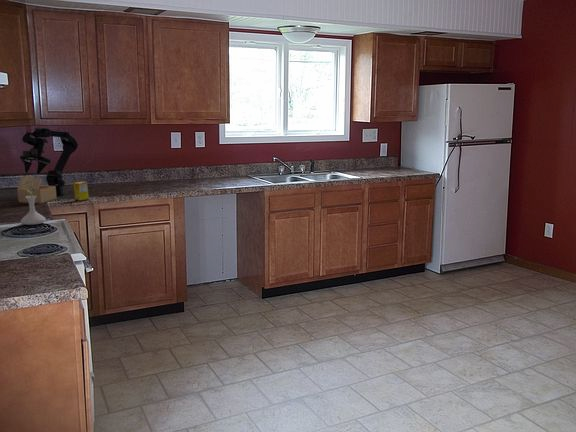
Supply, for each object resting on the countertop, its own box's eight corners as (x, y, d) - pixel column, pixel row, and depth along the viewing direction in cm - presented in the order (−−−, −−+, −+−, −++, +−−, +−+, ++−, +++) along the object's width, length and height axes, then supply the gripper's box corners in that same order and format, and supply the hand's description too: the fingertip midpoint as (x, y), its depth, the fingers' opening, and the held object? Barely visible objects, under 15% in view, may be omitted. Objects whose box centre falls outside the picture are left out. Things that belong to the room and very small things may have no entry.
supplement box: (83, 199, 344) (82, 181, 341) (89, 200, 340) (87, 182, 338) (74, 200, 339) (73, 182, 337) (80, 201, 335) (78, 183, 333)
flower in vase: (19, 223, 281) (13, 173, 276) (43, 220, 288) (38, 171, 282) (24, 228, 271) (18, 176, 265) (49, 225, 277) (44, 174, 272)
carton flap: (21, 177, 334) (20, 176, 333) (41, 178, 330) (41, 177, 329) (18, 188, 332) (17, 188, 331) (38, 189, 328) (37, 189, 327)
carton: (35, 197, 348) (34, 185, 346) (57, 199, 343) (56, 186, 341) (18, 202, 334) (16, 188, 332) (40, 203, 330) (39, 190, 328)
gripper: (15, 143, 334) (9, 168, 331) (39, 144, 326) (33, 170, 324) (30, 148, 344) (24, 173, 342) (53, 150, 337) (47, 175, 334)
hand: (31, 173), depth 335 cm, fingers open, 9 cm apart
